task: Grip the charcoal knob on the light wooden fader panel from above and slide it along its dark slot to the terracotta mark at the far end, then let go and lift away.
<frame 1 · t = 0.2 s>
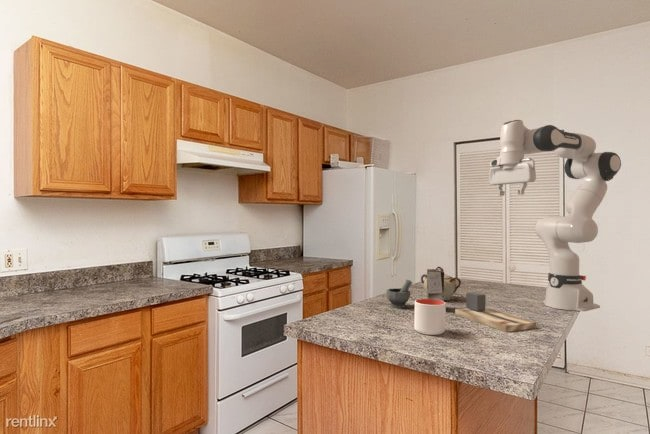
hand: (511, 195, 161), 47 cm above the counter, tool pointing down, fingers open, 8 cm apart
mortar and pestle: (399, 307, 169), on the counter
fader: (475, 301, 156), point 5 cm above the counter, slide at -9.0 cm
coffee box: (434, 309, 166), on the counter
sugar bowl: (439, 299, 186), on the counter
fader panel: (493, 320, 148), on the counter
cup: (429, 332, 133), on the counter
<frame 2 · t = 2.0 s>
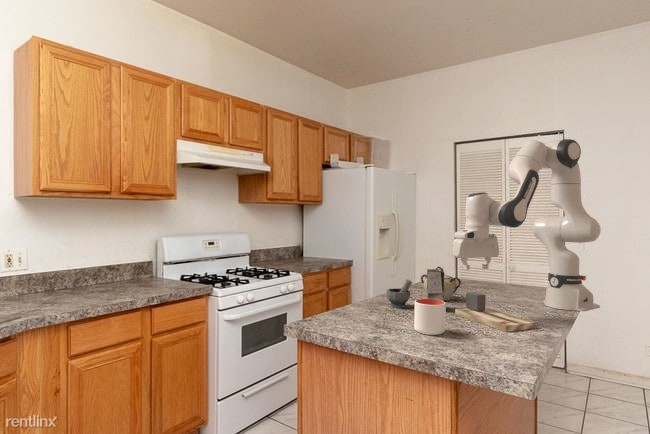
hand: (476, 269, 156), 18 cm above the counter, tool pointing down, fingers open, 8 cm apart
nothing on the counter moved.
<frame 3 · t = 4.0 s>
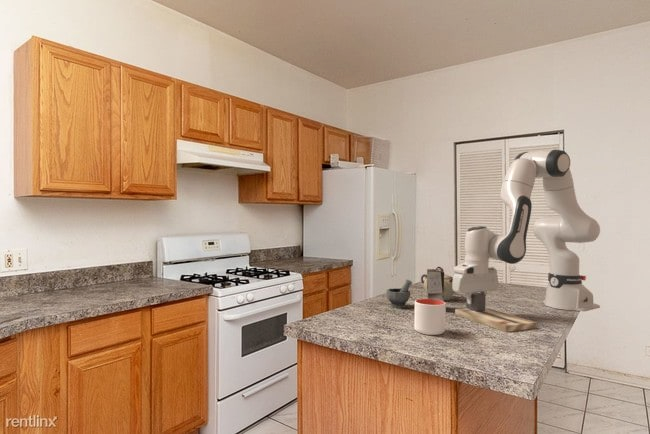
hand: (475, 303, 156), 5 cm above the counter, tool pointing down, fingers closed on fader, 4 cm apart
fader: (475, 301, 156), point 5 cm above the counter, slide at -9.0 cm, touching gripper
everything else where it was.
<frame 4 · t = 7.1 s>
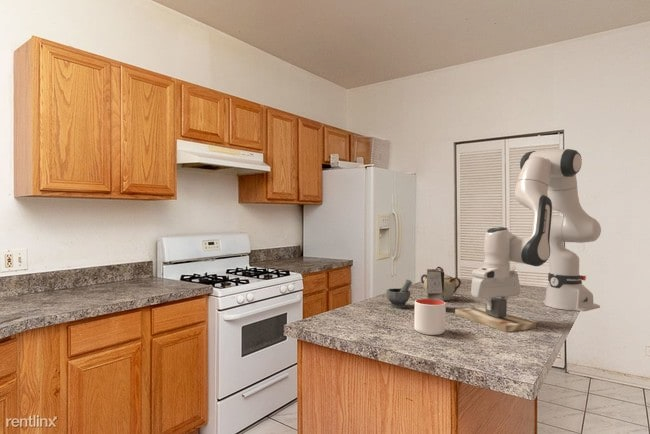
hand: (495, 309, 147), 5 cm above the counter, tool pointing down, fingers closed on fader, 4 cm apart
fader: (495, 306, 147), point 5 cm above the counter, slide at 1.3 cm, touching gripper
everything else where it was.
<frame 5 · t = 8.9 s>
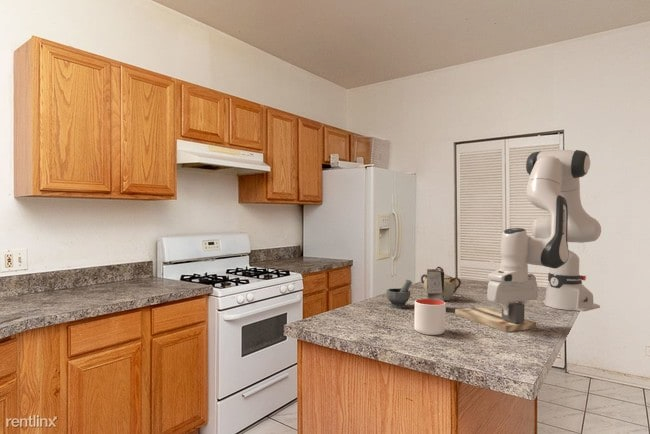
hand: (512, 314, 140), 5 cm above the counter, tool pointing down, fingers closed on fader, 4 cm apart
fader: (512, 311, 140), point 5 cm above the counter, slide at 9.0 cm, touching gripper
everything else where it was.
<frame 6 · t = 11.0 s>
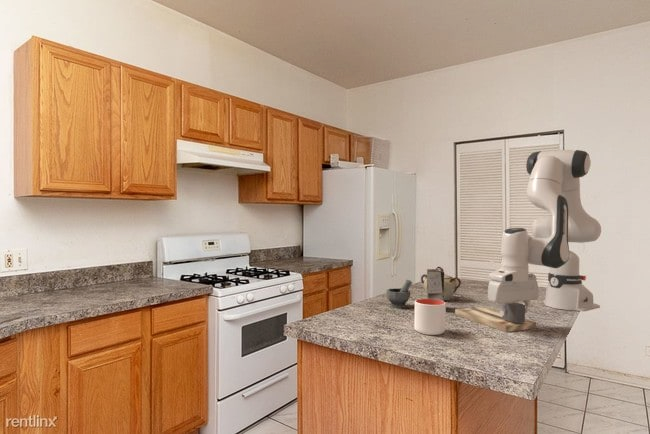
hand: (513, 314, 140), 5 cm above the counter, tool pointing down, fingers open, 8 cm apart
fader: (513, 312, 139), point 5 cm above the counter, slide at 9.3 cm
everything else where it was.
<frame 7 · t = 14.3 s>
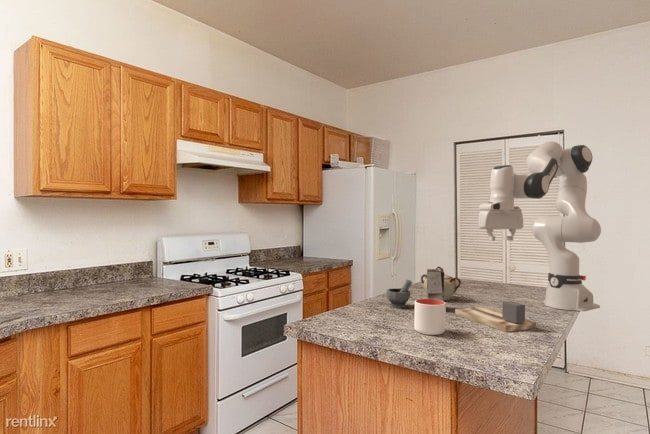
hand: (501, 240, 159), 29 cm above the counter, tool pointing down, fingers open, 8 cm apart
nothing on the counter moved.
at the end: fader slide at 9.3 cm; the gripper is holding nothing; coffee box moved 0.2 cm from its start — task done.
